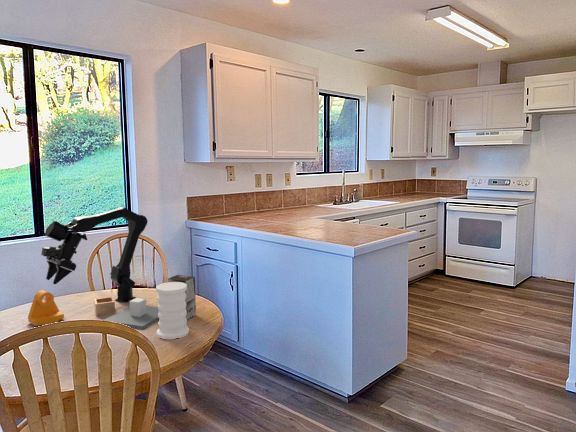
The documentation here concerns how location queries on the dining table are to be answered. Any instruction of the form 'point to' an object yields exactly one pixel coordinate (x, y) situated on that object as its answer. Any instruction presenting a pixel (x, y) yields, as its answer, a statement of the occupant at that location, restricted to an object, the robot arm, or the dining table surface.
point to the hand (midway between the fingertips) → (50, 281)
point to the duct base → (136, 320)
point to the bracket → (44, 309)
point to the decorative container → (172, 310)
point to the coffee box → (187, 293)
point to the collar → (104, 306)
